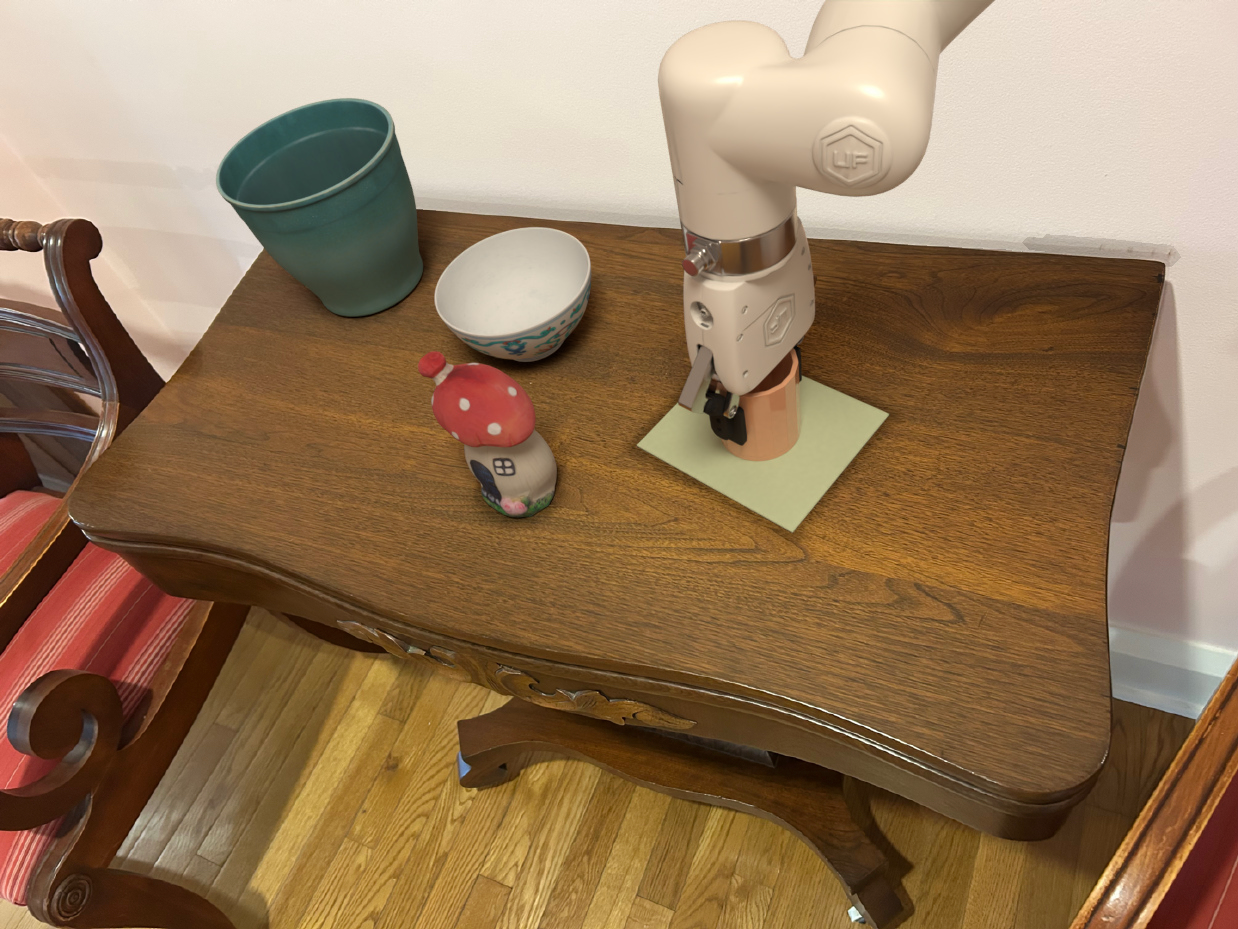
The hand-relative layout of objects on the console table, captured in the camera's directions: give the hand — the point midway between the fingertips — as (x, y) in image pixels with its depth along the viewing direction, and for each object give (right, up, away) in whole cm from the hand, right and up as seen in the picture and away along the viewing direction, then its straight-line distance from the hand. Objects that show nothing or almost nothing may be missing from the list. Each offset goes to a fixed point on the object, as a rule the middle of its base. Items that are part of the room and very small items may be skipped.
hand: (757, 404), depth 70 cm
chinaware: (-20, +8, +16) cm, 26 cm away
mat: (+1, -2, +3) cm, 3 cm away
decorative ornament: (-20, -7, +4) cm, 22 cm away
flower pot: (-39, +15, +26) cm, 49 cm away
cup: (+1, -2, +2) cm, 3 cm away
